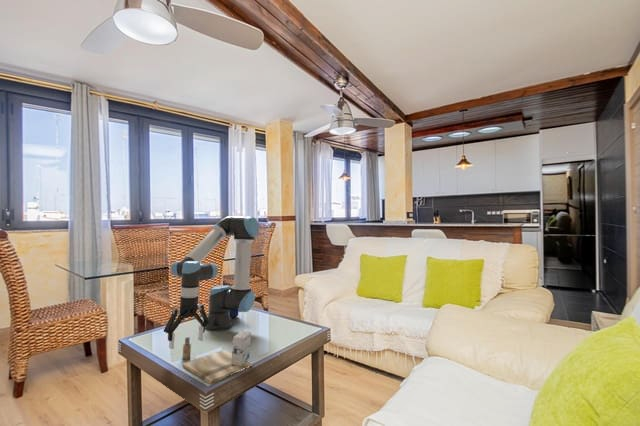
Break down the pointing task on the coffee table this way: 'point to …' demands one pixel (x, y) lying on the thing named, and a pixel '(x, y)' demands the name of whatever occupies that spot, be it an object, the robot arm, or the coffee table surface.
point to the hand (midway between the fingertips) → (186, 344)
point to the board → (214, 366)
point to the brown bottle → (186, 349)
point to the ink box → (241, 348)
